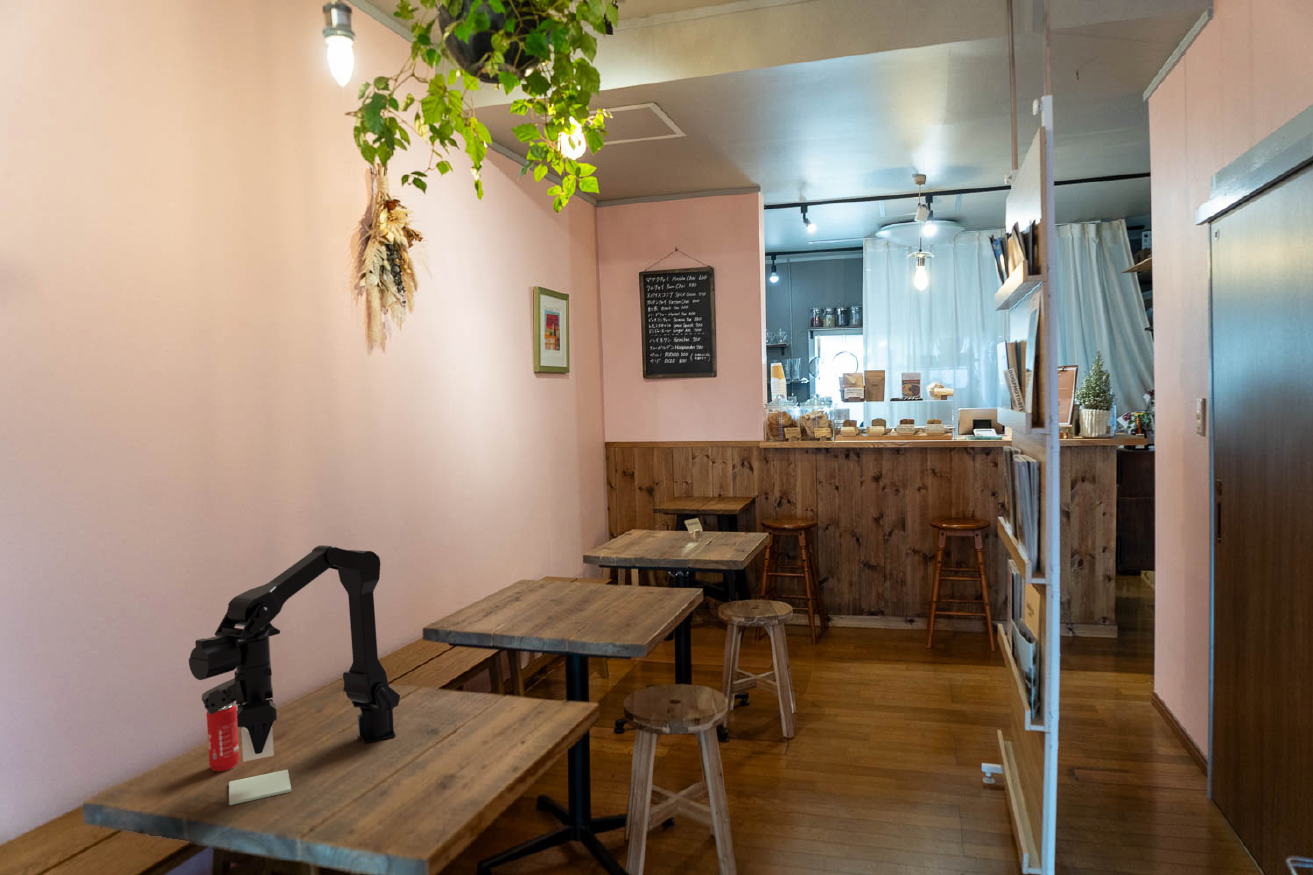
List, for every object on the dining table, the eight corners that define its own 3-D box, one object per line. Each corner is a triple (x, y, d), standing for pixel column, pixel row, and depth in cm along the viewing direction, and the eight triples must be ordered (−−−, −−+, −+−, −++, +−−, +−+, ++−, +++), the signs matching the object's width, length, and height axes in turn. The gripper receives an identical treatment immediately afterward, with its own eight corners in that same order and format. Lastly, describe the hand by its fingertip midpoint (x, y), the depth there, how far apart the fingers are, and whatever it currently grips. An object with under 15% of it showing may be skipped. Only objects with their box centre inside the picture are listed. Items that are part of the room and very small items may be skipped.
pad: (287, 771, 159) (287, 769, 159) (291, 791, 151) (291, 788, 151) (229, 784, 155) (229, 781, 155) (229, 805, 146) (229, 802, 146)
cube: (272, 746, 156) (271, 719, 156) (273, 755, 152) (272, 728, 151) (242, 752, 154) (241, 725, 154) (243, 761, 149) (241, 734, 149)
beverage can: (226, 772, 160) (223, 710, 160) (203, 771, 161) (200, 710, 161) (245, 761, 165) (242, 701, 165) (222, 760, 166) (219, 701, 166)
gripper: (204, 659, 157) (209, 741, 157) (201, 685, 140) (207, 777, 141) (269, 649, 162) (274, 729, 162) (274, 673, 145) (279, 762, 146)
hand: (258, 748), depth 153 cm, fingers closed on cube, 5 cm apart
